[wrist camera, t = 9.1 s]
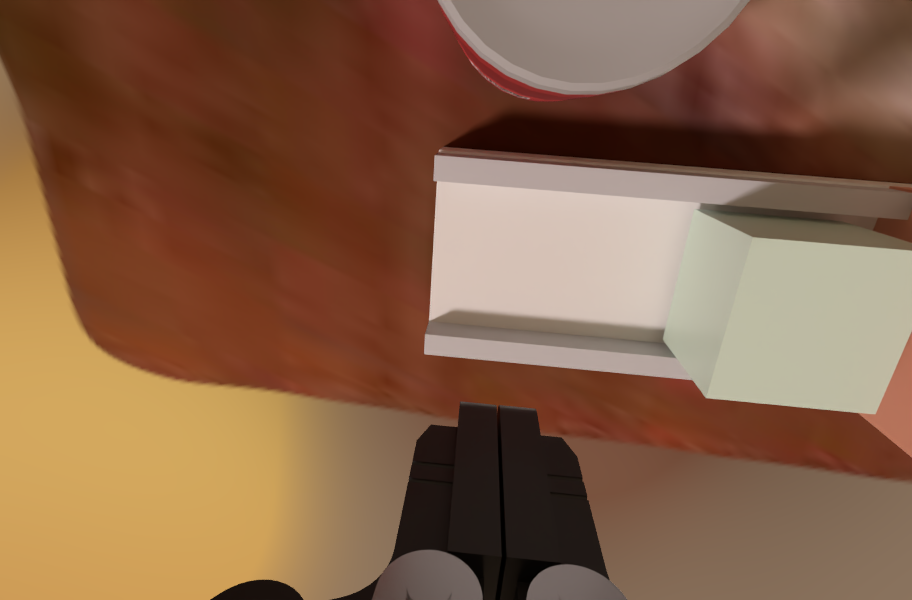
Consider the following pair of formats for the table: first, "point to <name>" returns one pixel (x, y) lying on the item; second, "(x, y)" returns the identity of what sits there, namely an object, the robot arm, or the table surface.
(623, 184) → the channel rail
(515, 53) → the canned food
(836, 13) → the table surface
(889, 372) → the pale sage green cube
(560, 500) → the robot arm
